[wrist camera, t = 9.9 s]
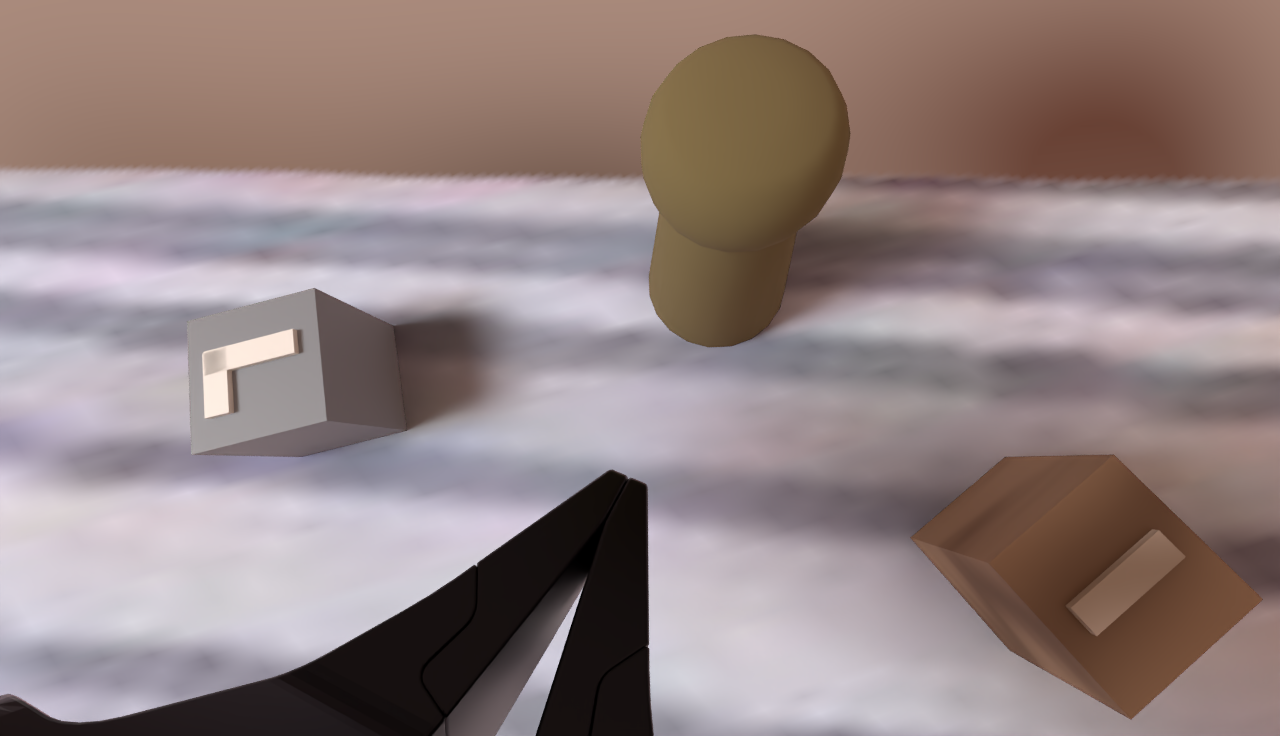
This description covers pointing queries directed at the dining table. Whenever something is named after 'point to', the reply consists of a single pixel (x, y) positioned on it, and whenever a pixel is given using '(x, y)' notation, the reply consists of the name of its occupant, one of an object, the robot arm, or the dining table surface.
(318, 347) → the slate marked block
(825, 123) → the cork
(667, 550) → the dining table surface
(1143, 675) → the walnut marked block
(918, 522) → the dining table surface
